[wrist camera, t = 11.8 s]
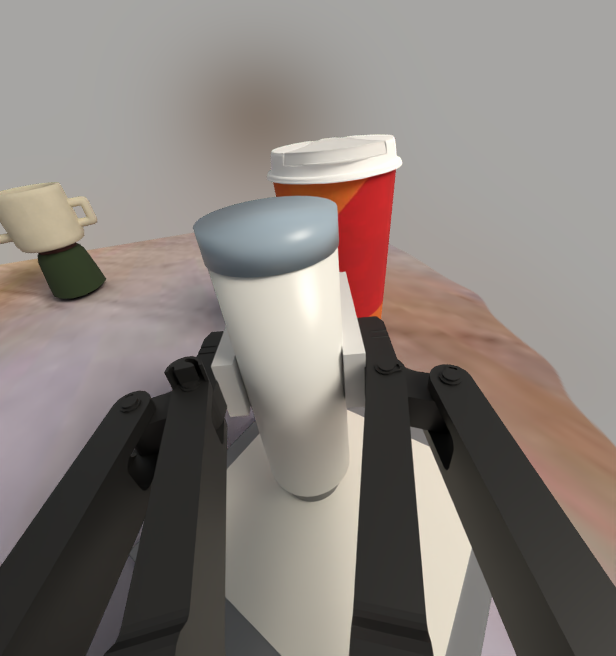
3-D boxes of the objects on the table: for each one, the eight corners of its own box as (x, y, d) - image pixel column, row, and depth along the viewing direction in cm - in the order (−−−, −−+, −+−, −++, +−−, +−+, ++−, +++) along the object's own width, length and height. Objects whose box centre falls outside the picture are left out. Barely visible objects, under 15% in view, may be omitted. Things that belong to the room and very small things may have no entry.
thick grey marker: (258, 485, 16) (162, 230, 9) (303, 428, 19) (260, 193, 11) (324, 531, 14) (275, 247, 7) (364, 460, 17) (362, 198, 9)
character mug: (126, 271, 47) (80, 176, 39) (127, 289, 41) (74, 182, 34) (42, 293, 43) (-26, 194, 36) (31, 316, 38) (-52, 204, 30)
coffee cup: (297, 319, 31) (270, 144, 22) (381, 312, 30) (387, 129, 22) (293, 380, 24) (252, 160, 15) (402, 372, 23) (423, 139, 15)
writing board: (133, 558, 15) (127, 552, 15) (302, 377, 24) (301, 371, 24) (427, 921, 8) (430, 929, 7) (513, 467, 17) (517, 459, 16)
